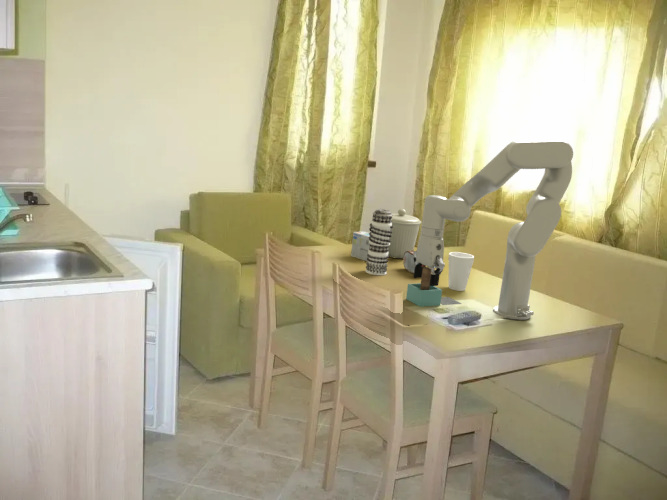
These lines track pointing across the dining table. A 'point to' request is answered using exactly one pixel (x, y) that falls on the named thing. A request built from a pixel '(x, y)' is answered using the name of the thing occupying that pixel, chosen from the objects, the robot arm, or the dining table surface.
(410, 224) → the canister
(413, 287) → the teal open box
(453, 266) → the foam cup
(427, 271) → the dowel
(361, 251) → the light bulb box
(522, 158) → the robot arm
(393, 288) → the dining table surface
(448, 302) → the coaster
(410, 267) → the tin
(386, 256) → the decorative candle
